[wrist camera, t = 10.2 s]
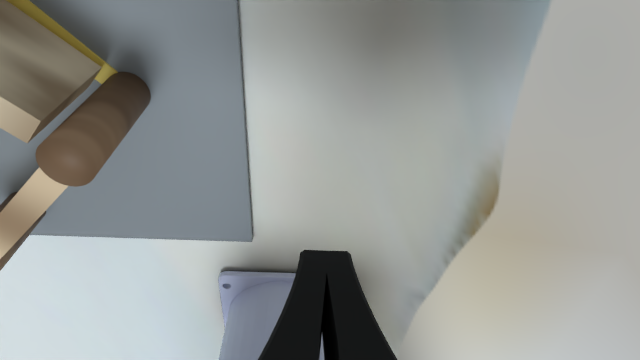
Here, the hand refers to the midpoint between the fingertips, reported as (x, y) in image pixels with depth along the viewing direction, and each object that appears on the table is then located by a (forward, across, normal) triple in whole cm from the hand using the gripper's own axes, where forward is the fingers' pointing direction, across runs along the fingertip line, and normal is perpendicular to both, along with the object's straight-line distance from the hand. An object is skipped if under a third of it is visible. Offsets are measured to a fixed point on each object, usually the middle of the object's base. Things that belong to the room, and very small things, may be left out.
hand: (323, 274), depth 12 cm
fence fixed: (+10, +13, +3) cm, 16 cm away
